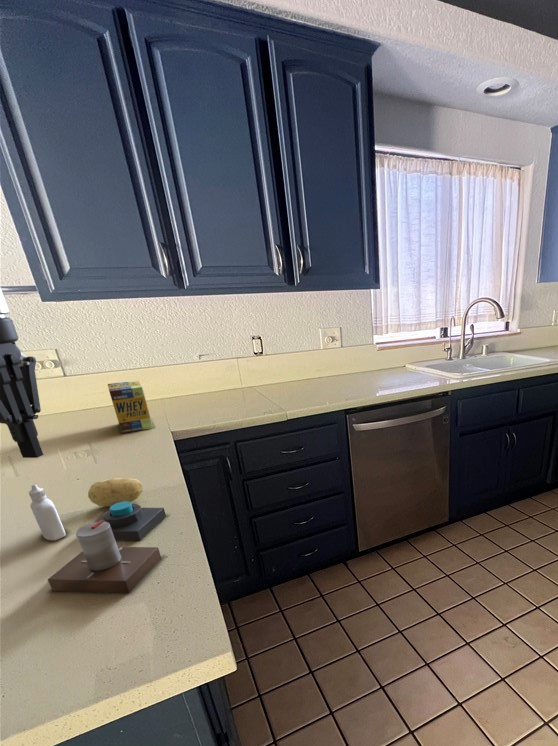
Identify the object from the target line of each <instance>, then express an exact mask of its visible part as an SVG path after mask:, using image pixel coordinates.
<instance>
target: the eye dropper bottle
mask: <svg viewBox="0 0 558 746" xmlns="http://www.w3.org/2000/svg"><path fill="white" fill-rule="evenodd" d="M30 486H31V489H30V490H29V491H28V495H29V497H30V500H31V503H30V509H31V512H32V513H33V516H34V518H35V521H36V523H37V525H38V527H39V529H40V532H41V534H42V536H43V538H44V539H46V540H48V541H57V540H60V539H62V538H64V537H66V531H65V527H64V525H63V523H62V521H61V518H60V515H59V514H58V511H57V509H56V506H55V503H54V502H53V501H52V500H51V499H50V498H48V497H47V494H46V491H45V489H44V488H42V487H38V485H37V484H36V483H31V485H30Z"/></svg>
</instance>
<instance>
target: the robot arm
mask: <svg viewBox="0 0 558 746" xmlns="http://www.w3.org/2000/svg"><path fill="white" fill-rule="evenodd" d="M8 314H10V308H9V306H8V303H7V301H6V298H5V295H4V292H3V290H2V287H1V286H0V424H3V425H4V424H5V425H6V426H7V429H8V431H9V433H10V435H11V438H12V440H13V442H15V443H16V444H17V447H18V450H19V452H20V454H21V458H22V459H39V458H40V457H42V456H44V452H43V449H42V447H41V444H40V441H39V438H38V436H39V433H38V429H37V426H36V423H35V422H34V420H37V419H38V418H39V415H38V414H39V413H40V412H41V411H42V409H41V402H40V396H39V389H38V384H37V383H38V382H37V375H36V364H37V358H36V357H34V356H28V355H25V354H23V353H22V351H21V349H20V347H18V345H17V344H16V342H18V341H19V335H18V332H17V329H16V326H15V324H14V320H13V319H11V318H10V317H8V316H7V315H8Z"/></svg>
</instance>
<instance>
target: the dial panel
mask: <svg viewBox="0 0 558 746" xmlns="http://www.w3.org/2000/svg"><path fill="white" fill-rule="evenodd" d="M118 549H119V552H120V555H121V560H120V561H119V562H118V563H117V564H116V565H114V566H112V567H110V568H107V569H104V570H98V571H95V570H91V569H90V568H89V566H88V563H87V561H86V558H85V556H84V553H83V551H82V550H81V551H80V552H79V553H78V554H77V555H76V556H74V557H73V558H72V559H71V560H69V561H68V562H67V563H66V564H65V565H63V566H62V567H61V568H59V569H58V570H57V571H56V572H55V573H53V574H52V575H51V576H49V577H48V578H47V582H48V585H49V586H50V588H51V590H52V592H79V593H80V592H83V593H85V592H86V593H88V592H89V593H126V594H127V593H129V594H130V593H131V592H132V591H133V590H134V588H136V587H137V585H138V584H139V583H140V582H142V580H143V579H144V577H146V576H147V574H148V573H149V572H151V570H152V569H153V568H154V567H155V566H156V565H157V564H158V563H159V561H161V560H162V555H161V553H160V549H159V547H158V546H154V547H153V546H118Z"/></svg>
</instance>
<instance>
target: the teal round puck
mask: <svg viewBox="0 0 558 746" xmlns="http://www.w3.org/2000/svg"><path fill="white" fill-rule="evenodd" d="M131 504H132V502H131V501H130V502H128V501H124V502H119V503H116V504H114V505H112V506H109V510H110V511H111V514H112V516H113V517H119V516H124V515H127V514H129V513H131V512H132V511H133V508H132V505H131Z"/></svg>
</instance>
